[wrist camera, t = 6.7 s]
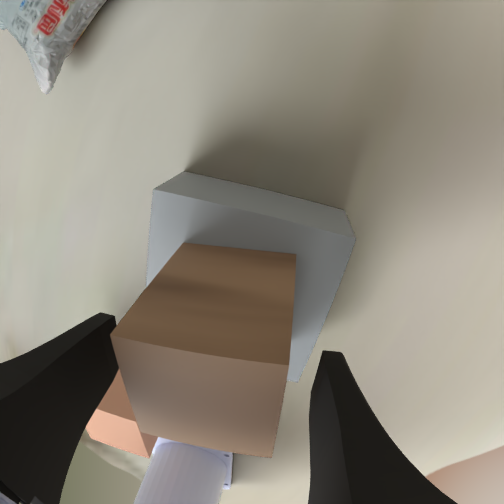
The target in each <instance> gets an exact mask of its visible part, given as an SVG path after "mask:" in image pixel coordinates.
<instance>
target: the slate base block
mask: <svg viewBox="0 0 504 504" xmlns="http://www.w3.org/2000/svg"><path fill="white" fill-rule="evenodd" d="M355 241H356V237H355V235H354V232H353V230H352V227H351V225H350V222H349V220H348V217H347V215H346V213H345V210H341V209H338V208H334V207H331V206H327V205H323V204H320V203H316V202H312V201H308V200H305V199H301V198H297V197H293V196H289V195H285V194H281V193H277V192H273V191H269V190H265V189H261V188H257V187H252V186H248V185H244V184H240V183H235V182H231V181H226V180H222V179H218V178H213V177H208V176H204V175H199V174H194V173H189V172H185V171H184V172H182V173H180V174H178V175H177V176H175V177H173V178H172V179H170V180H168V181H166V182H165V183H163V184H161V185H160V186H158V187H156V188H155V189H153V197H152V207H151V218H150V229H149V243H148V258H147V277H146V288H147V286H148V285H149V284H150V283H151V281H152V280H153V279H154V278H155V276H156V275H157V274H158V273H159V271H160V270H161V269H162V268H163V266H164V265H165V264H166V263H167V261H168V260H169V259H170V258H171V257H172V255H173V254H174V253H175V252H176V251H177V249H178V248H179V247H180V246H181V245H182V243H193V244H203V245H212V246H222V247H232V248H242V249H252V250H261V251H271V252H281V253H291V254H296V273H295V291H294V307H293V322H292V336H291V349H290V362H289V370H288V375H287V381H292V382H297V383H298V381H299V379H300V377H301V374H302V372H303V370H304V368H305V366H306V363H307V361H308V359H309V357H310V355H311V352H312V350H313V348H314V345H315V343H316V341H317V338H318V336H319V334H320V331H321V329H322V327H323V324H324V322H325V319H326V317H327V315H328V312H329V310H330V307H331V305H332V302H333V300H334V297H335V295H336V292H337V290H338V287H339V284H340V282H341V279H342V277H343V274H344V271H345V269H346V266H347V263H348V261H349V258H350V255H351V252H352V249H353V247H354V244H355Z"/></svg>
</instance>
